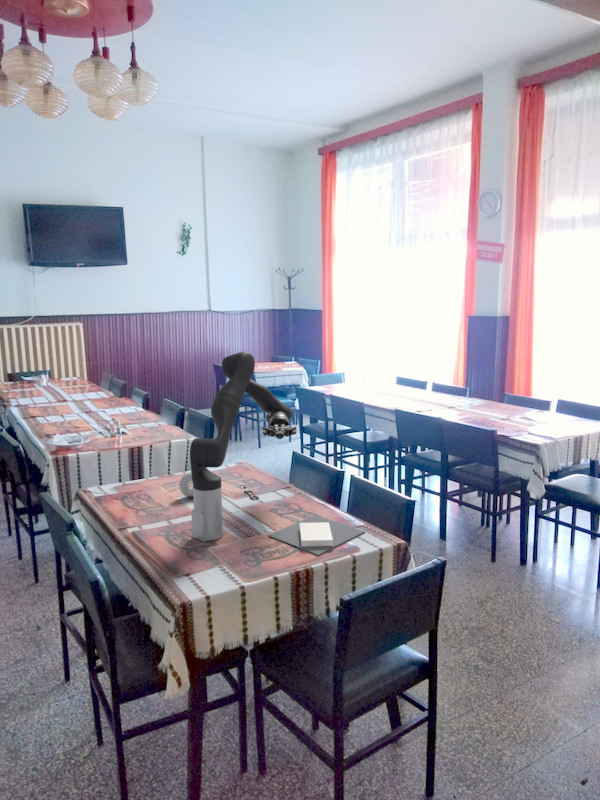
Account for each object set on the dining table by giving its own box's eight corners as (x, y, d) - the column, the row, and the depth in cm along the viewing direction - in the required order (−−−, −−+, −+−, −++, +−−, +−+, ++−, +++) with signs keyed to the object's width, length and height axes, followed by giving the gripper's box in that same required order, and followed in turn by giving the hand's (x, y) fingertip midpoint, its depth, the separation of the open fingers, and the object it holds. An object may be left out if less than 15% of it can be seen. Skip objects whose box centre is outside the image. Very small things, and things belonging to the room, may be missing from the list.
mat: (318, 555, 187) (318, 554, 187) (268, 536, 201) (268, 534, 201) (364, 532, 204) (364, 531, 204) (315, 516, 219) (315, 514, 219)
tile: (299, 522, 205) (301, 540, 191) (328, 522, 206) (332, 539, 192) (299, 529, 206) (301, 547, 192) (328, 528, 206) (332, 546, 192)
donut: (202, 493, 243) (201, 469, 242) (205, 495, 241) (204, 471, 239) (178, 497, 239) (177, 472, 237) (181, 499, 236) (180, 475, 234)
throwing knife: (250, 501, 235) (250, 499, 235) (235, 485, 253) (235, 484, 253) (261, 499, 237) (261, 498, 237) (245, 484, 255) (245, 483, 255)
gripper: (261, 415, 228) (260, 426, 211) (296, 415, 229) (298, 425, 212) (262, 434, 230) (261, 446, 213) (296, 434, 230) (298, 446, 213)
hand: (279, 436), depth 212 cm, fingers closed
